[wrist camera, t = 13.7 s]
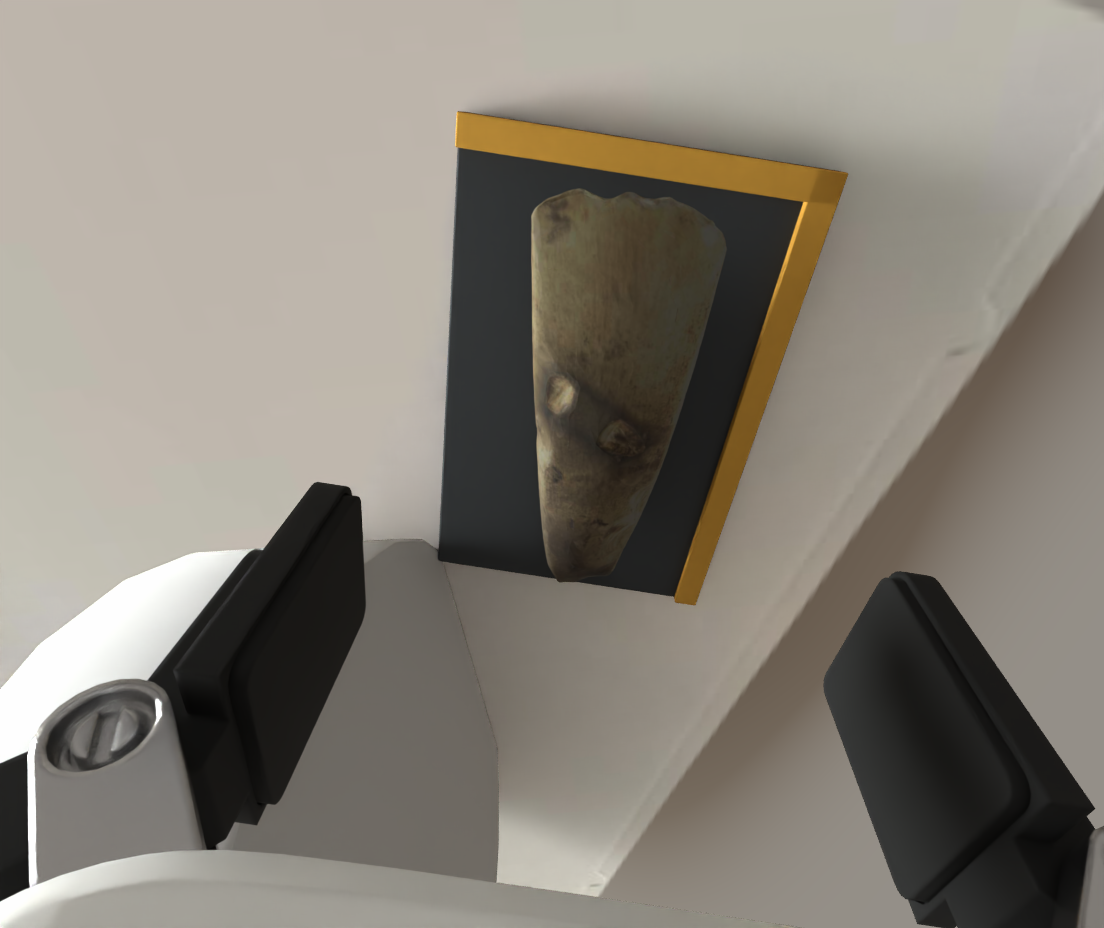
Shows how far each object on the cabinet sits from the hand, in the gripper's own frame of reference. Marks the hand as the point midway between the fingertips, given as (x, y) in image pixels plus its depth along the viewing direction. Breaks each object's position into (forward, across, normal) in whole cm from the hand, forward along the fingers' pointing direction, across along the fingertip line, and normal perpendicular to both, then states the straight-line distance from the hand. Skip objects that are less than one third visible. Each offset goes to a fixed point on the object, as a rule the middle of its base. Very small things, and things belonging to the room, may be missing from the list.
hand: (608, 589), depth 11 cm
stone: (+9, +1, +1) cm, 9 cm away
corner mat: (+10, 0, +1) cm, 10 cm away
